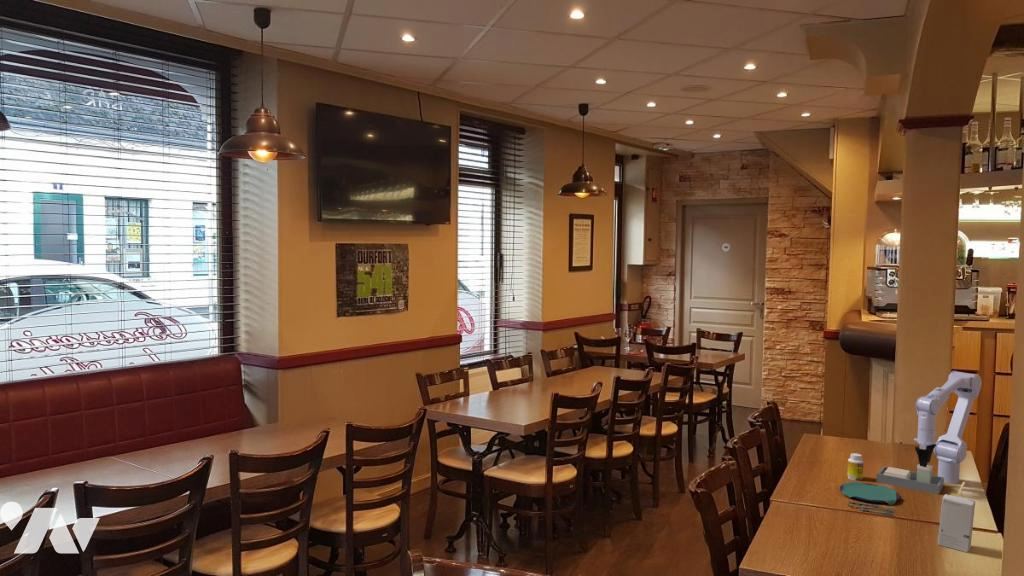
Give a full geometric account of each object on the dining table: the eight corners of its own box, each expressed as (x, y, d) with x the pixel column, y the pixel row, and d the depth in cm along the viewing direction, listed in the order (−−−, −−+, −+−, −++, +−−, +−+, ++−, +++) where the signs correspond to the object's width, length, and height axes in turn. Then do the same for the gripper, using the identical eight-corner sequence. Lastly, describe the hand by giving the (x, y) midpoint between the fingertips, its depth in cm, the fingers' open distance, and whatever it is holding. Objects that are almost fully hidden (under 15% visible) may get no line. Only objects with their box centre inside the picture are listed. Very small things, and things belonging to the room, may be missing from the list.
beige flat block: (887, 476, 283) (888, 466, 283) (910, 480, 279) (910, 470, 278) (883, 481, 276) (883, 471, 276) (906, 486, 271) (906, 476, 271)
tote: (883, 476, 286) (883, 466, 286) (943, 487, 273) (944, 477, 273) (876, 484, 276) (876, 473, 276) (938, 496, 263) (939, 485, 263)
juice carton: (918, 483, 275) (919, 463, 275) (931, 486, 272) (932, 465, 272) (915, 486, 271) (917, 466, 271) (929, 489, 269) (930, 468, 268)
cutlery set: (899, 492, 267) (899, 486, 267) (900, 520, 240) (900, 513, 240) (841, 484, 276) (841, 478, 276) (835, 509, 250) (836, 503, 250)
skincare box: (937, 545, 218) (940, 497, 217) (941, 539, 223) (943, 492, 222) (969, 553, 213) (972, 504, 212) (972, 547, 217) (975, 499, 217)
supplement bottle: (857, 483, 276) (858, 457, 276) (844, 479, 281) (845, 453, 280) (865, 481, 279) (866, 455, 279) (852, 477, 284) (853, 451, 284)
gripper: (917, 423, 279) (915, 457, 280) (911, 430, 267) (909, 466, 268) (938, 426, 274) (936, 461, 275) (932, 434, 263) (931, 470, 264)
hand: (924, 464), depth 271 cm, fingers open, 7 cm apart
